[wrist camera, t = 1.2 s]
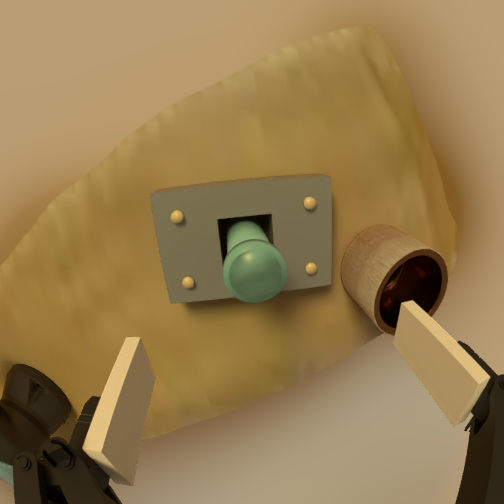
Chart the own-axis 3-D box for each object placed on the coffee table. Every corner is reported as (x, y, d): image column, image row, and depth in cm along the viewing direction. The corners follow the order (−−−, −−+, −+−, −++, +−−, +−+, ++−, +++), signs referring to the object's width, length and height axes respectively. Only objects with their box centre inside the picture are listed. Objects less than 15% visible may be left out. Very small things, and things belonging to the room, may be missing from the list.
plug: (225, 254, 33) (227, 306, 22) (220, 213, 32) (219, 247, 20) (266, 249, 34) (288, 298, 22) (263, 209, 32) (285, 240, 21)
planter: (392, 301, 38) (427, 336, 29) (329, 295, 37) (357, 337, 28) (415, 231, 35) (460, 254, 26) (351, 216, 33) (392, 239, 24)
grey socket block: (175, 287, 34) (169, 306, 30) (158, 189, 30) (148, 195, 26) (320, 270, 35) (332, 286, 31) (318, 173, 31) (333, 177, 27)
